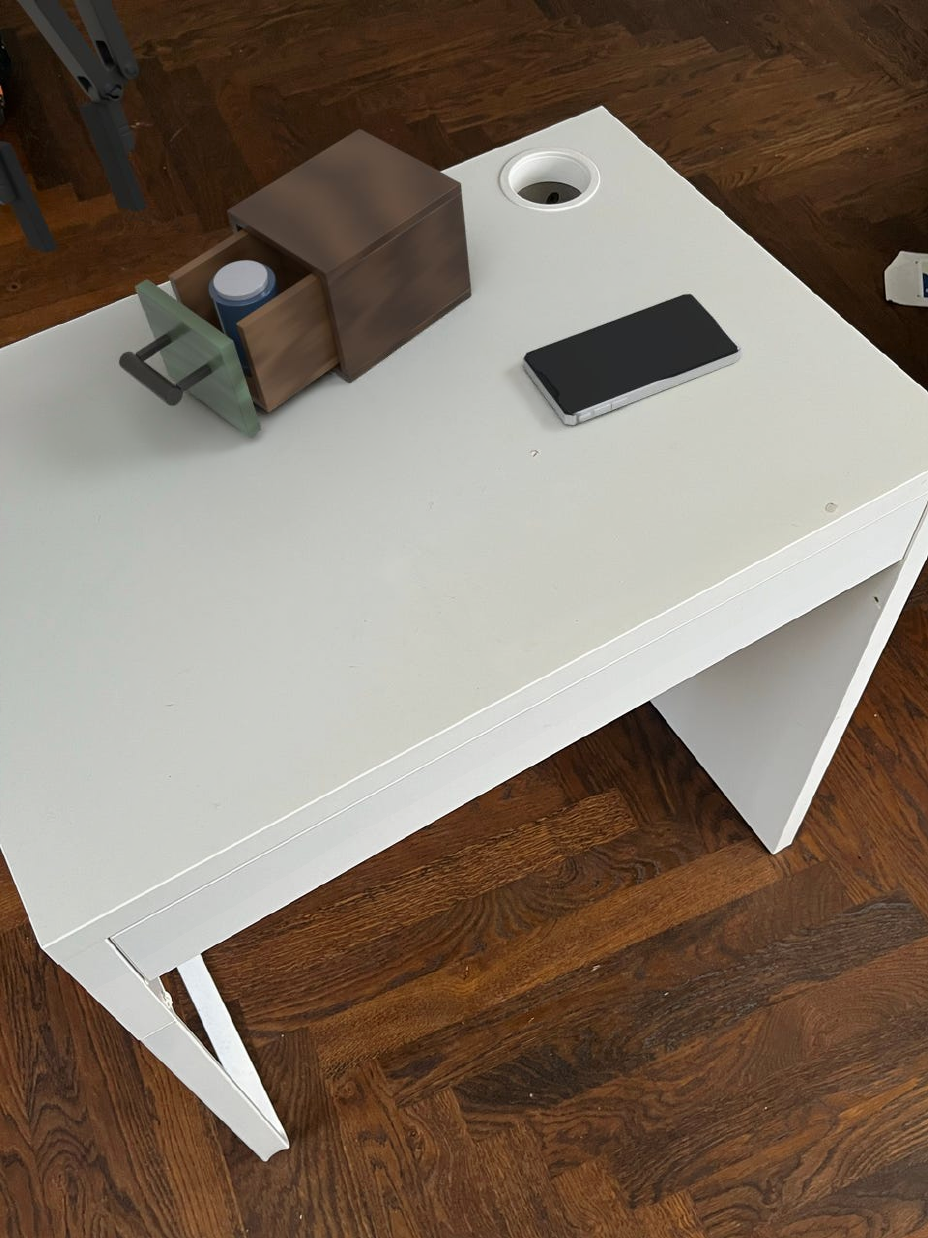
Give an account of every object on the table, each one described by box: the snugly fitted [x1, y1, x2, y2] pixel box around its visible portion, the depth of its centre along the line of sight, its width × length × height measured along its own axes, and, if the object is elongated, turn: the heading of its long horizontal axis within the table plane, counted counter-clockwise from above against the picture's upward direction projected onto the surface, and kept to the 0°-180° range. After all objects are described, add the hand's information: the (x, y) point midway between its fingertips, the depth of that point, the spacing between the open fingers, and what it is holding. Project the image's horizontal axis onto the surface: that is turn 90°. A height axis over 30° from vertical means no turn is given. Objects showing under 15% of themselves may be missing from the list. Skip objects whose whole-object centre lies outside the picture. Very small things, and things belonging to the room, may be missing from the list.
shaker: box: [208, 260, 280, 377], centre depth 87 cm, size 5×5×8 cm
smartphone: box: [522, 293, 742, 426], centre depth 88 cm, size 8×1×15 cm
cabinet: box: [226, 128, 472, 384], centre depth 91 cm, size 14×12×11 cm
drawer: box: [118, 229, 340, 439], centre depth 87 cm, size 17×10×9 cm, turn 135°
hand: (88, 226), depth 74 cm, fingers open, 6 cm apart
